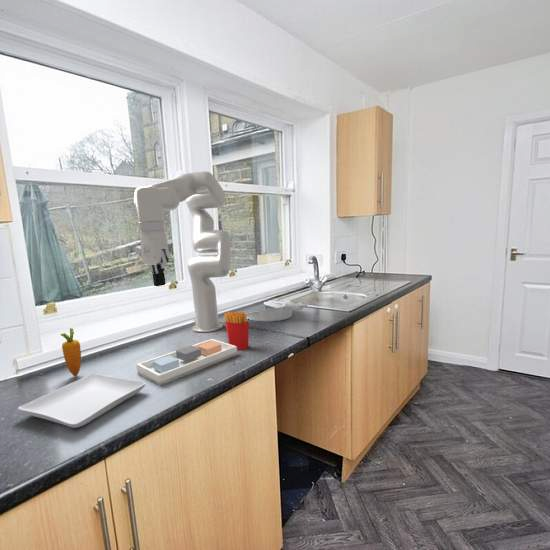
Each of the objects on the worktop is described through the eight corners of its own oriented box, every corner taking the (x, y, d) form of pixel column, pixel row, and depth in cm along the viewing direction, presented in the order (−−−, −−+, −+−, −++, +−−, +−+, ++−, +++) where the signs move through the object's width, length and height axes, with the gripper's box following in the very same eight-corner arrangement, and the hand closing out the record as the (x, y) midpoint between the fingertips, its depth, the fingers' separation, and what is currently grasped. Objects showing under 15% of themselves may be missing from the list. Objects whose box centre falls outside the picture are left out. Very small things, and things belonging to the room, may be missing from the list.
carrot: (71, 381, 104) (64, 332, 102) (63, 378, 106) (55, 331, 104) (88, 374, 108) (81, 328, 106) (79, 372, 110) (72, 326, 108)
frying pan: (277, 309, 178) (276, 290, 176) (326, 319, 152) (325, 298, 151) (240, 318, 163) (238, 299, 162) (287, 332, 138) (285, 309, 136)
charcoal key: (176, 357, 111) (175, 350, 110) (191, 352, 115) (191, 345, 114) (186, 361, 107) (185, 354, 107) (201, 356, 111) (200, 348, 111)
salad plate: (149, 392, 93) (148, 380, 93) (77, 438, 74) (74, 423, 74) (94, 383, 102) (93, 372, 102) (17, 421, 83) (14, 408, 83)
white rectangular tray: (137, 373, 106) (136, 364, 106) (212, 346, 126) (211, 338, 125) (159, 385, 96) (158, 375, 96) (237, 354, 116) (236, 346, 116)
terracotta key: (198, 352, 117) (197, 346, 116) (211, 347, 121) (211, 341, 120) (207, 356, 113) (207, 349, 112) (221, 351, 117) (221, 344, 116)
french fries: (252, 346, 123) (249, 311, 121) (245, 350, 119) (242, 314, 118) (231, 343, 128) (228, 309, 126) (224, 347, 124) (221, 312, 122)
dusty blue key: (153, 368, 105) (152, 361, 105) (170, 362, 109) (169, 355, 109) (162, 373, 101) (161, 365, 101) (179, 367, 105) (178, 359, 105)
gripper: (130, 229, 110) (138, 285, 114) (152, 227, 100) (160, 289, 103) (152, 227, 116) (159, 281, 119) (175, 226, 106) (182, 285, 109)
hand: (159, 285), depth 111 cm, fingers closed
